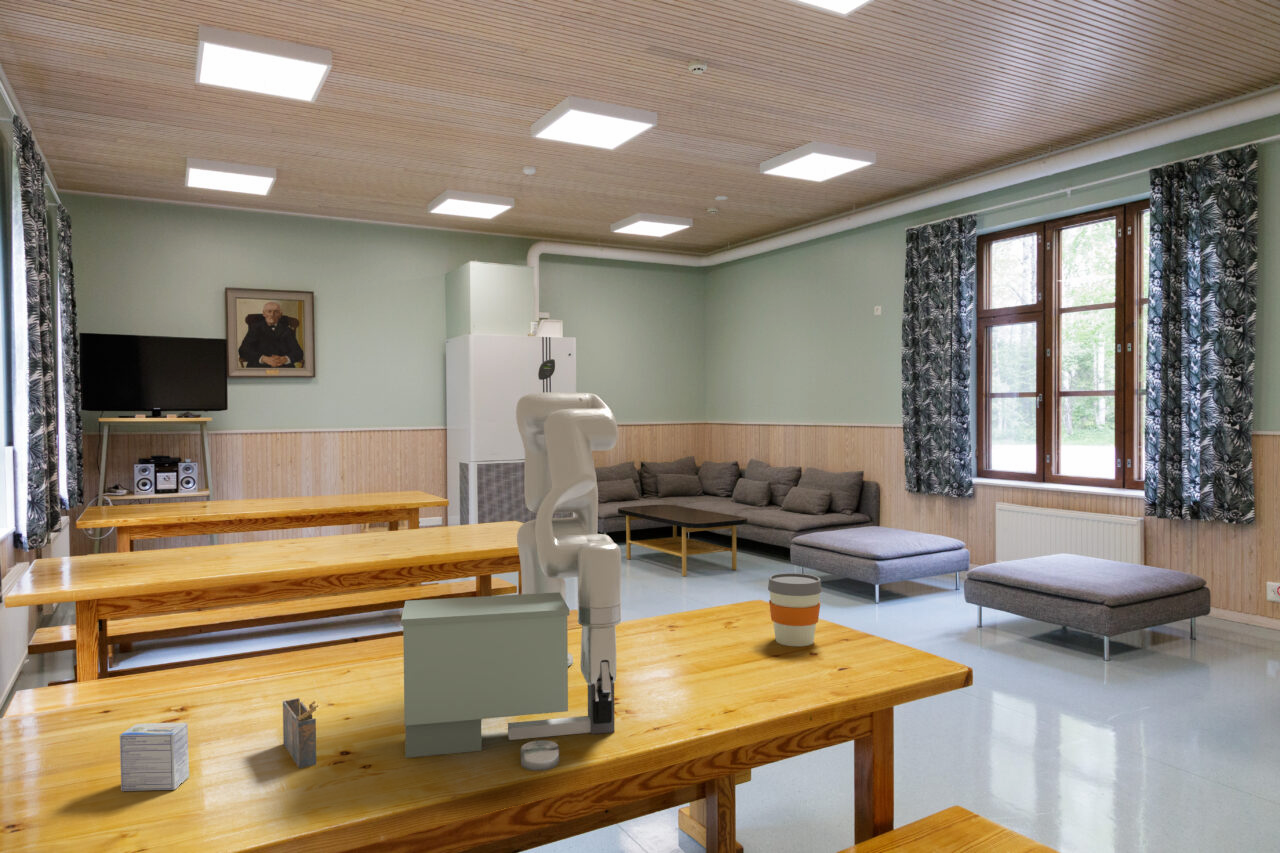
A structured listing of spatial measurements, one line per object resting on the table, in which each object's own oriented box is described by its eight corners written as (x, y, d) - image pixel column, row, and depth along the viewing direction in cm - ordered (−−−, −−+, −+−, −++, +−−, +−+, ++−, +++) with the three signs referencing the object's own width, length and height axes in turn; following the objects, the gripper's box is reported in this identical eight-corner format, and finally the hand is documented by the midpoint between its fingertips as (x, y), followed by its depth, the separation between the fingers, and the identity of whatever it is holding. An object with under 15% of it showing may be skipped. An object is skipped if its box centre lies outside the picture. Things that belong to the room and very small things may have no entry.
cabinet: (407, 733, 143) (405, 600, 142) (560, 719, 148) (559, 592, 148) (402, 764, 130) (401, 619, 130) (570, 747, 136) (569, 609, 136)
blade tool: (507, 732, 142) (507, 681, 142) (610, 723, 146) (609, 673, 146) (509, 742, 139) (508, 689, 138) (614, 732, 143) (614, 680, 142)
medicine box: (190, 777, 126) (189, 721, 126) (174, 791, 121) (173, 733, 121) (137, 778, 126) (136, 722, 125) (119, 792, 121) (118, 734, 121)
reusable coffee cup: (780, 650, 189) (781, 585, 189) (759, 635, 201) (759, 574, 201) (830, 646, 192) (831, 582, 192) (807, 632, 204) (807, 571, 204)
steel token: (519, 757, 133) (519, 741, 133) (556, 754, 134) (556, 738, 134) (522, 773, 127) (521, 757, 127) (560, 770, 128) (560, 754, 128)
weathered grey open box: (319, 766, 131) (318, 705, 130) (299, 771, 129) (298, 709, 129) (302, 742, 140) (301, 685, 140) (283, 746, 138) (282, 689, 138)
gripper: (571, 603, 151) (571, 702, 151) (585, 628, 134) (586, 738, 135) (611, 600, 152) (612, 698, 153) (630, 625, 136) (630, 734, 137)
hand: (599, 716), depth 144 cm, fingers closed on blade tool, 4 cm apart
